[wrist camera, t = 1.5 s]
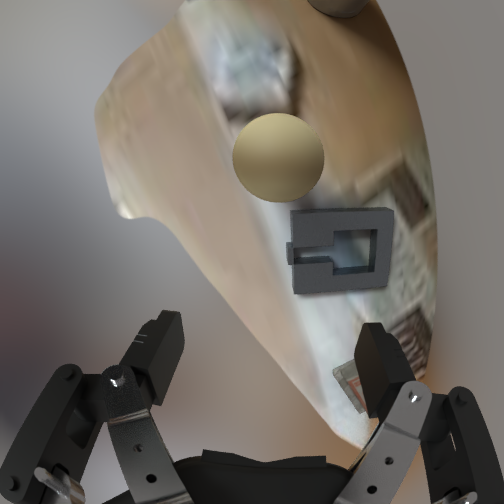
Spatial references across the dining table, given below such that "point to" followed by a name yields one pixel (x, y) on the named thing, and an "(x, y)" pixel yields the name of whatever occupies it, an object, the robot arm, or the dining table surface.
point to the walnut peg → (278, 157)
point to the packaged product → (351, 384)
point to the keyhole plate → (322, 234)
